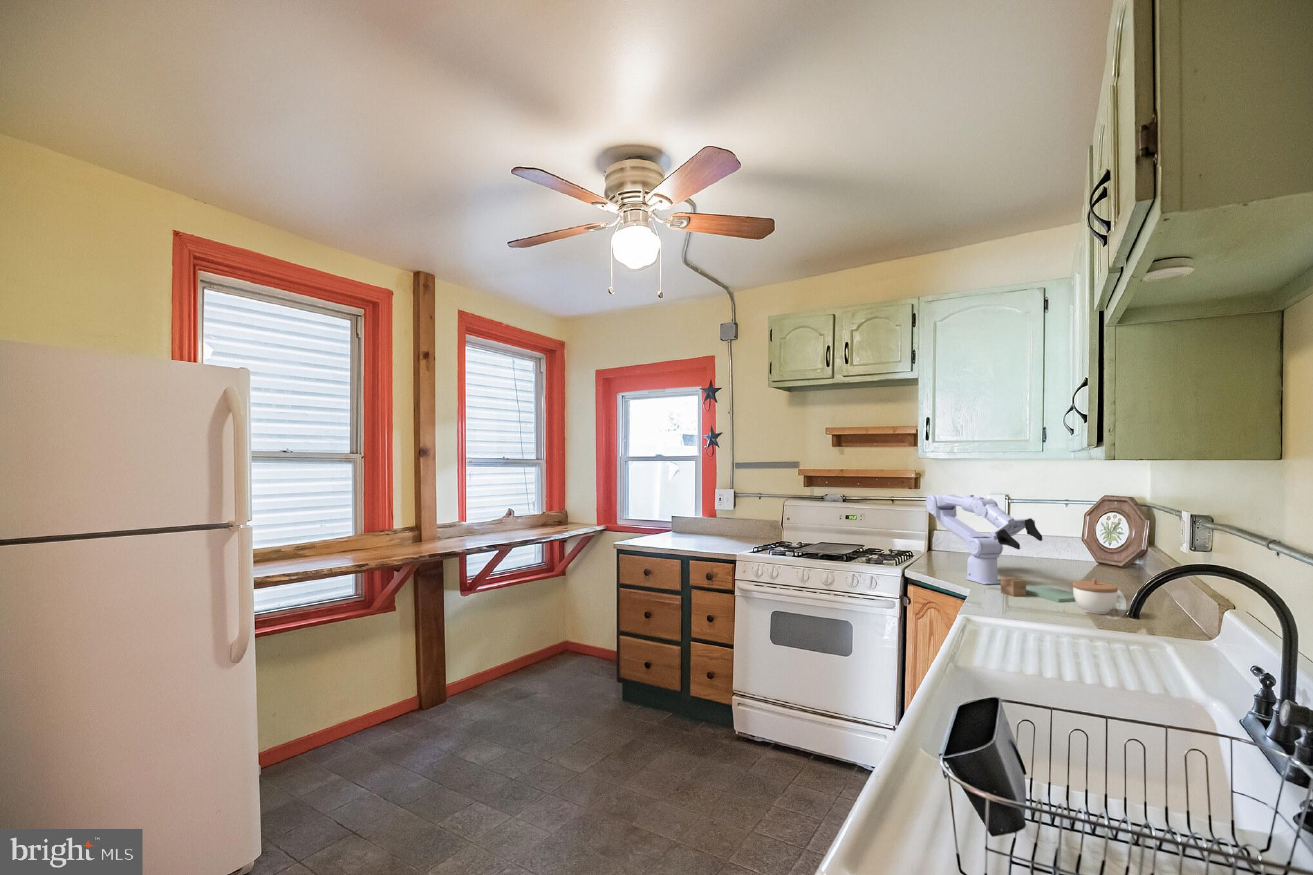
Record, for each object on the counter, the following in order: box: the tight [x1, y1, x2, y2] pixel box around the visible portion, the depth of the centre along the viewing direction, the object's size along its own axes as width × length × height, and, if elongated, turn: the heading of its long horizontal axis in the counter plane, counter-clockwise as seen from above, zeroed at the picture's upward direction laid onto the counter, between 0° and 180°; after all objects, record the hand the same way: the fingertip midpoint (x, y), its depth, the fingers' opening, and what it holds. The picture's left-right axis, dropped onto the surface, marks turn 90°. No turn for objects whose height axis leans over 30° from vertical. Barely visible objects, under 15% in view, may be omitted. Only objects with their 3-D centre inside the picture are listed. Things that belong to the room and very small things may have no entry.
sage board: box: [1026, 584, 1076, 603], centre depth 197 cm, size 16×12×1 cm
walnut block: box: [1000, 576, 1027, 597], centre depth 198 cm, size 5×5×5 cm
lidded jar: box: [1072, 578, 1119, 615], centre depth 177 cm, size 11×11×9 cm
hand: (1030, 542), depth 195 cm, fingers open, 7 cm apart
